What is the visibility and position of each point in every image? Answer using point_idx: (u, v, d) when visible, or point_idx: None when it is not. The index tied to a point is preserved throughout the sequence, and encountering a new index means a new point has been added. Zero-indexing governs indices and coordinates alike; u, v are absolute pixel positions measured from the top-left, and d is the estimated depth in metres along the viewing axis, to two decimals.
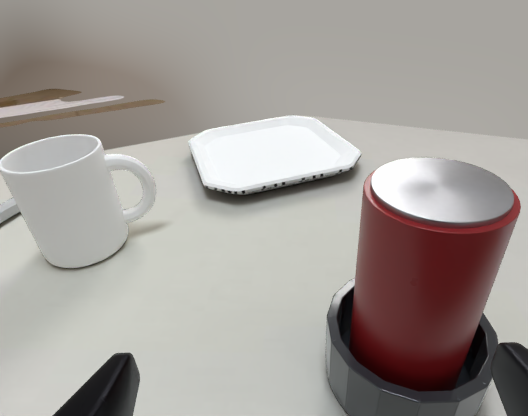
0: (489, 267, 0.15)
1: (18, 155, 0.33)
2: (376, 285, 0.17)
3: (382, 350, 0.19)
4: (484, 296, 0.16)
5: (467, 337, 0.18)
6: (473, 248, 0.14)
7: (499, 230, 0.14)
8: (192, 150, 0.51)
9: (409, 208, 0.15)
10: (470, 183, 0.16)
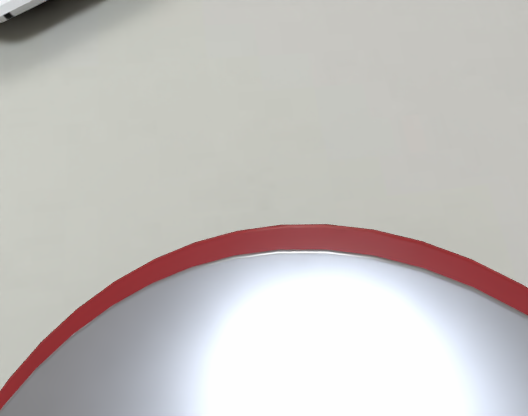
0: None
1: None
2: None
3: None
4: None
5: None
6: None
7: None
8: None
9: None
10: None
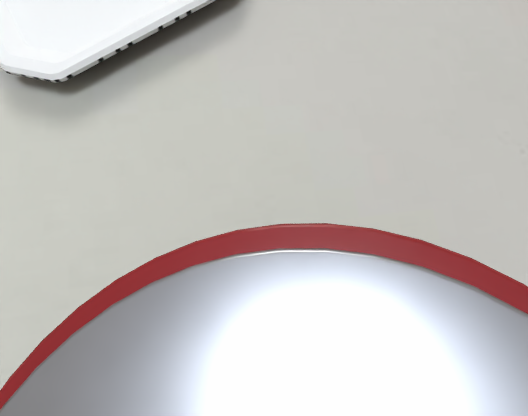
0: None
1: None
2: None
3: None
4: None
5: None
6: None
7: None
8: None
9: None
10: None
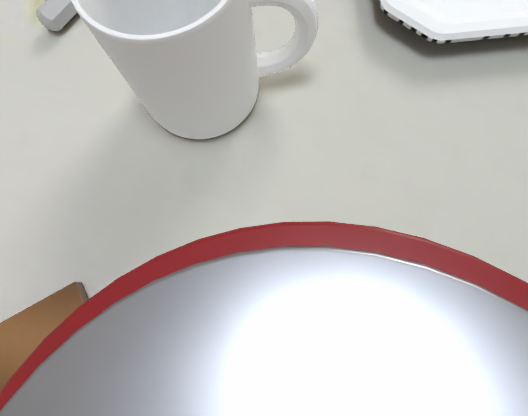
0: None
1: None
2: None
3: None
4: None
5: None
6: None
7: None
8: None
9: None
10: None
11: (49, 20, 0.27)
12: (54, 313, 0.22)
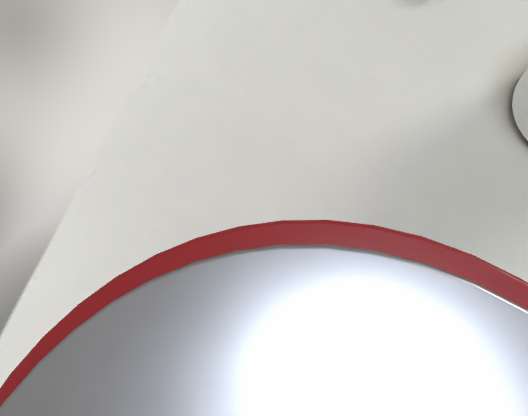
0: None
1: None
2: None
3: None
4: None
5: None
6: None
7: None
8: None
9: None
10: None
11: None
12: None
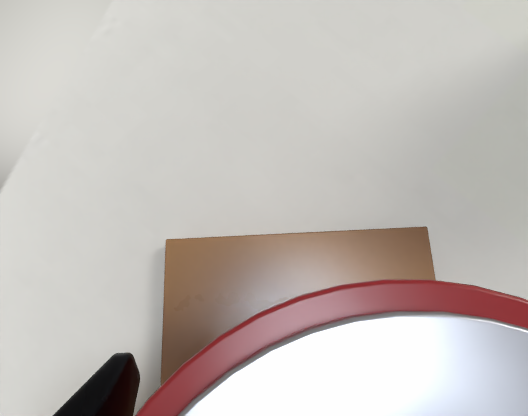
0: None
1: None
2: None
3: None
4: None
5: None
6: None
7: None
8: None
9: None
10: None
11: None
12: (390, 253, 0.16)
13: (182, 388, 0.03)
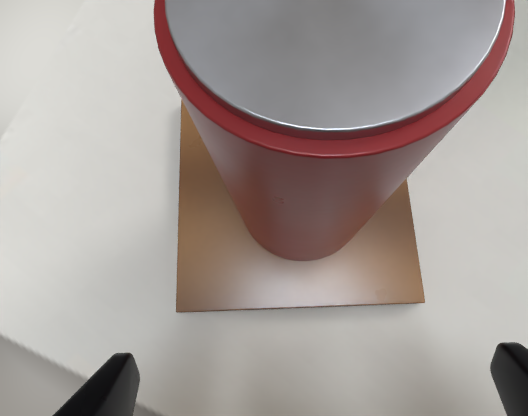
0: (414, 165, 0.08)
1: None
2: (229, 183, 0.10)
3: (262, 231, 0.14)
4: (402, 182, 0.10)
5: None
6: (382, 167, 0.06)
7: (443, 129, 0.06)
8: None
9: (242, 86, 0.06)
10: None
11: None
12: None
13: None
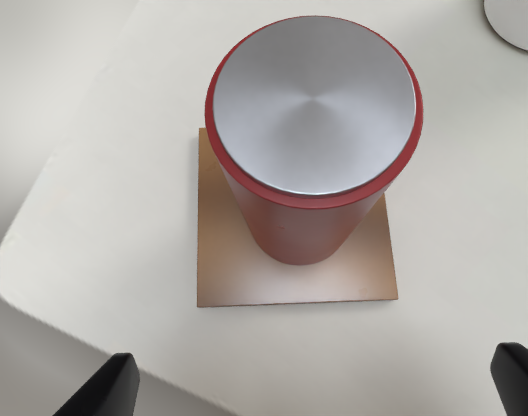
0: (370, 205, 0.12)
1: None
2: (246, 212, 0.14)
3: (267, 243, 0.18)
4: (367, 212, 0.14)
5: (351, 231, 0.16)
6: (344, 211, 0.11)
7: (378, 191, 0.10)
8: None
9: (260, 167, 0.10)
10: (360, 90, 0.10)
11: None
12: None
13: (243, 43, 0.12)
